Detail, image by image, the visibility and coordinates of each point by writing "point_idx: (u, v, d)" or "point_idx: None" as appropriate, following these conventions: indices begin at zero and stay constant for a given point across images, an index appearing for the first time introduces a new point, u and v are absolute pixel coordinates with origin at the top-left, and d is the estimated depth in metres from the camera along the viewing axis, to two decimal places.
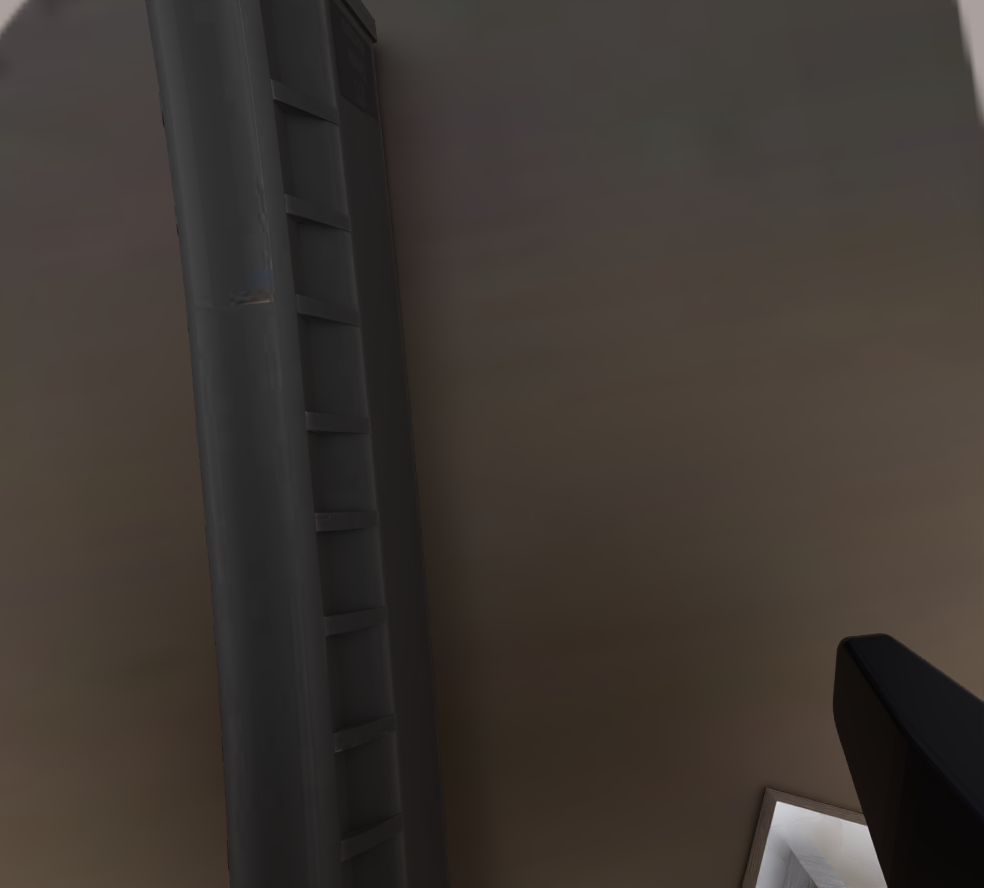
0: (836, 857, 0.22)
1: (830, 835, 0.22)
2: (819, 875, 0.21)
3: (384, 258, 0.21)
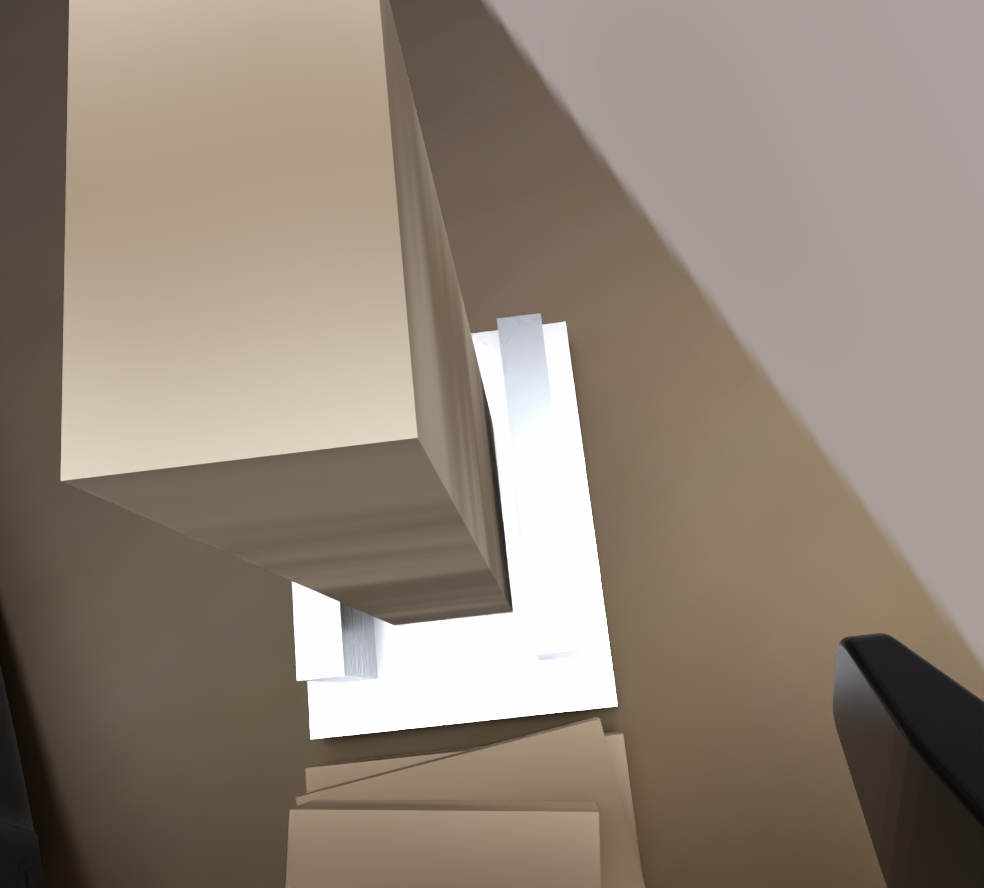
0: None
1: None
2: None
3: None
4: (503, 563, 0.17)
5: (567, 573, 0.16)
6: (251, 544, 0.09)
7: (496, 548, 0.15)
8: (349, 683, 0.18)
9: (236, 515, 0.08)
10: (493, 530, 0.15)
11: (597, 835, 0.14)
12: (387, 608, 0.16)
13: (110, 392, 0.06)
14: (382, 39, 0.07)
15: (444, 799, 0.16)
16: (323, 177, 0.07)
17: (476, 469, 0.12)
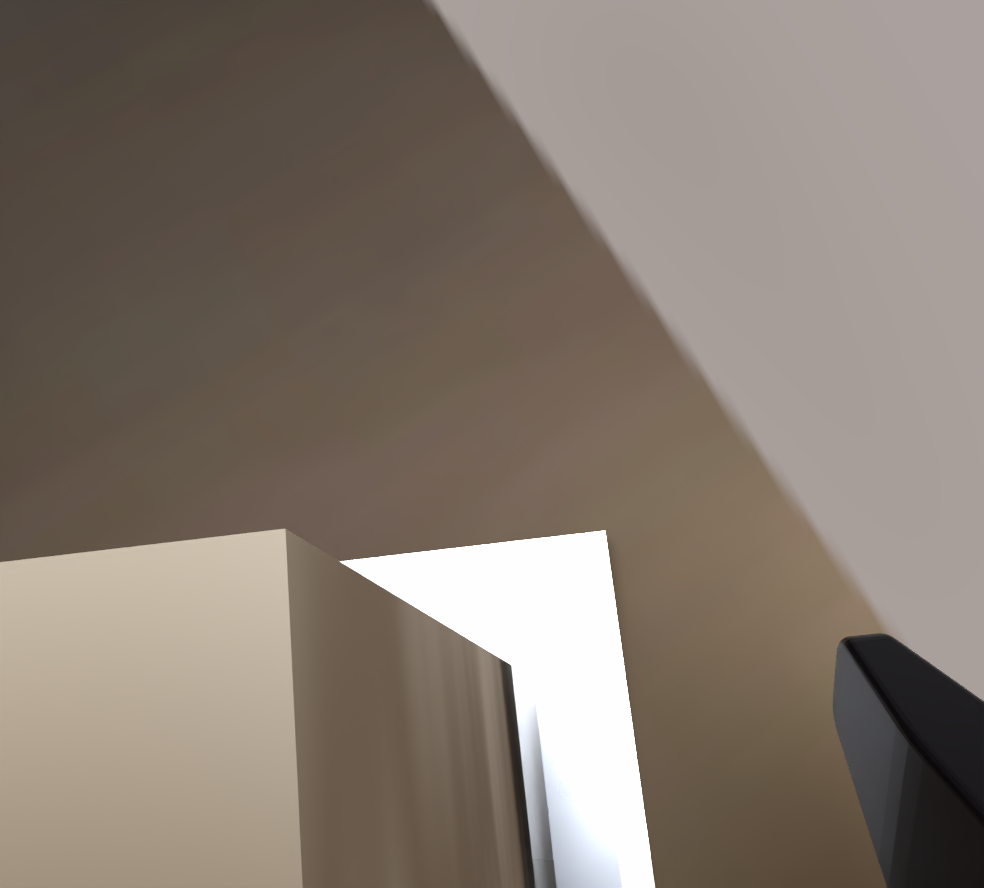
0: None
1: None
2: None
3: None
4: None
5: None
6: None
7: None
8: None
9: None
10: None
11: None
12: None
13: None
14: (302, 862, 0.02)
15: None
16: None
17: None
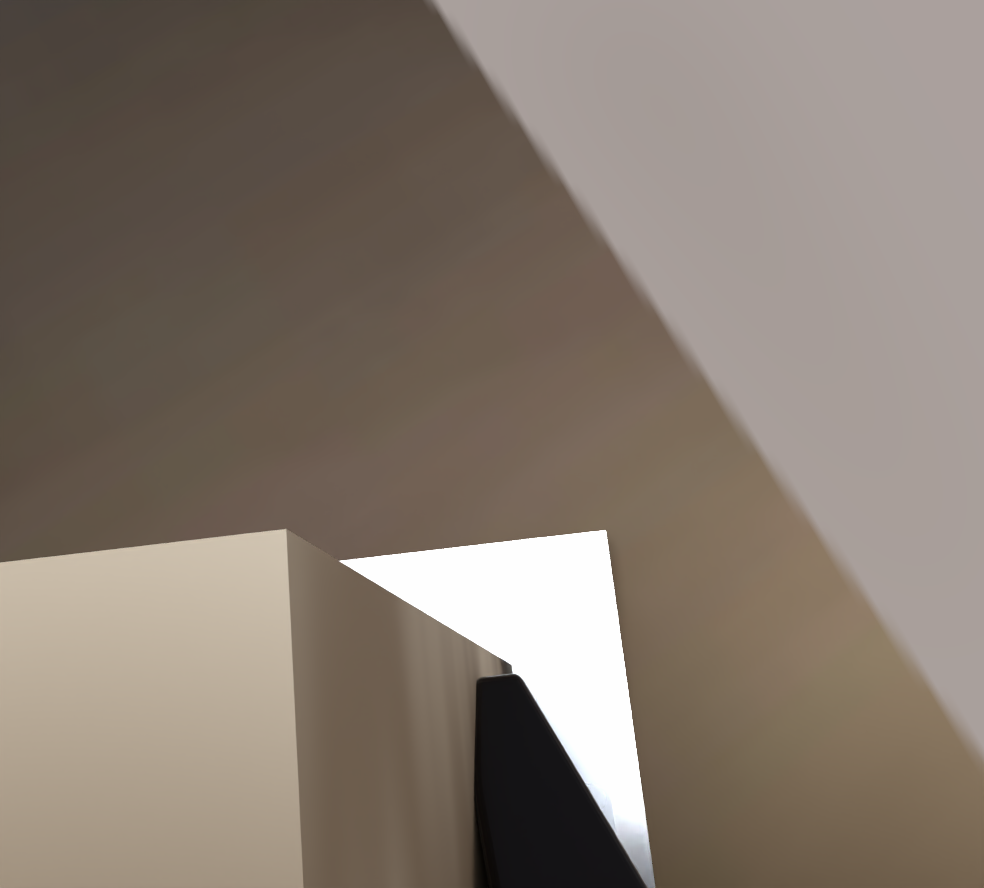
0: None
1: None
2: None
3: None
4: None
5: None
6: None
7: None
8: None
9: None
10: None
11: None
12: None
13: None
14: (302, 865, 0.02)
15: None
16: None
17: None
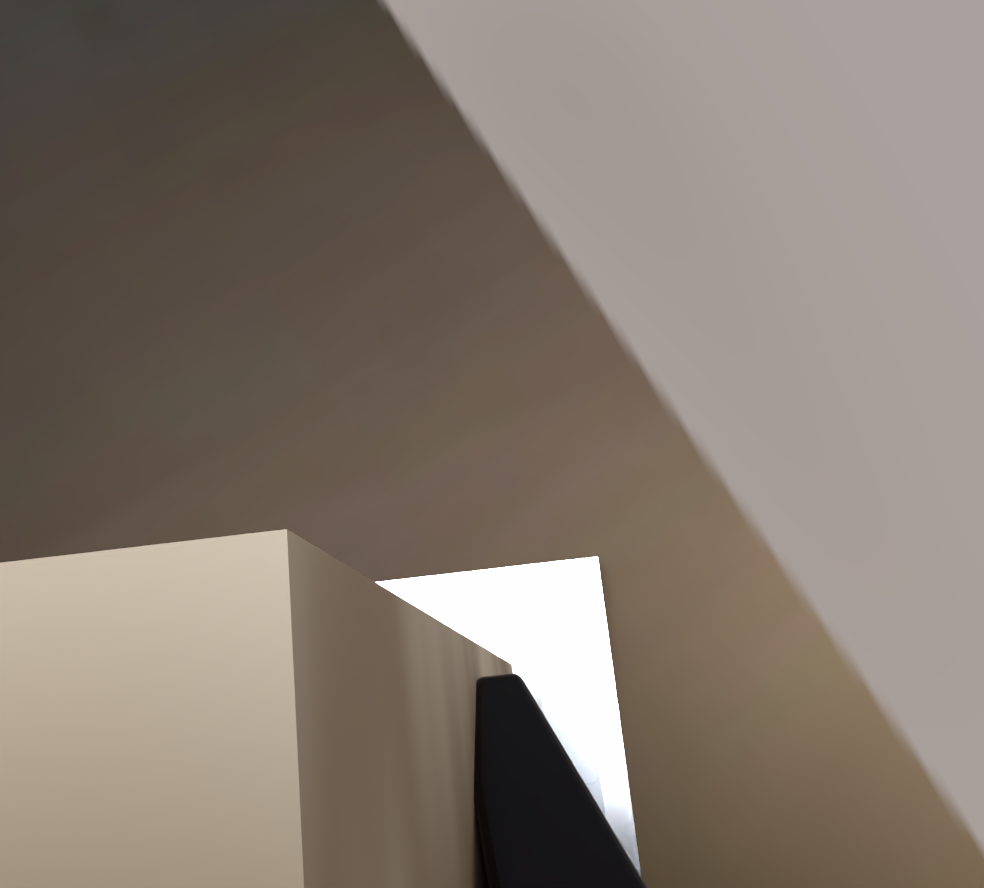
0: None
1: None
2: None
3: None
4: None
5: None
6: None
7: None
8: None
9: None
10: None
11: None
12: None
13: None
14: (303, 863, 0.02)
15: None
16: None
17: None
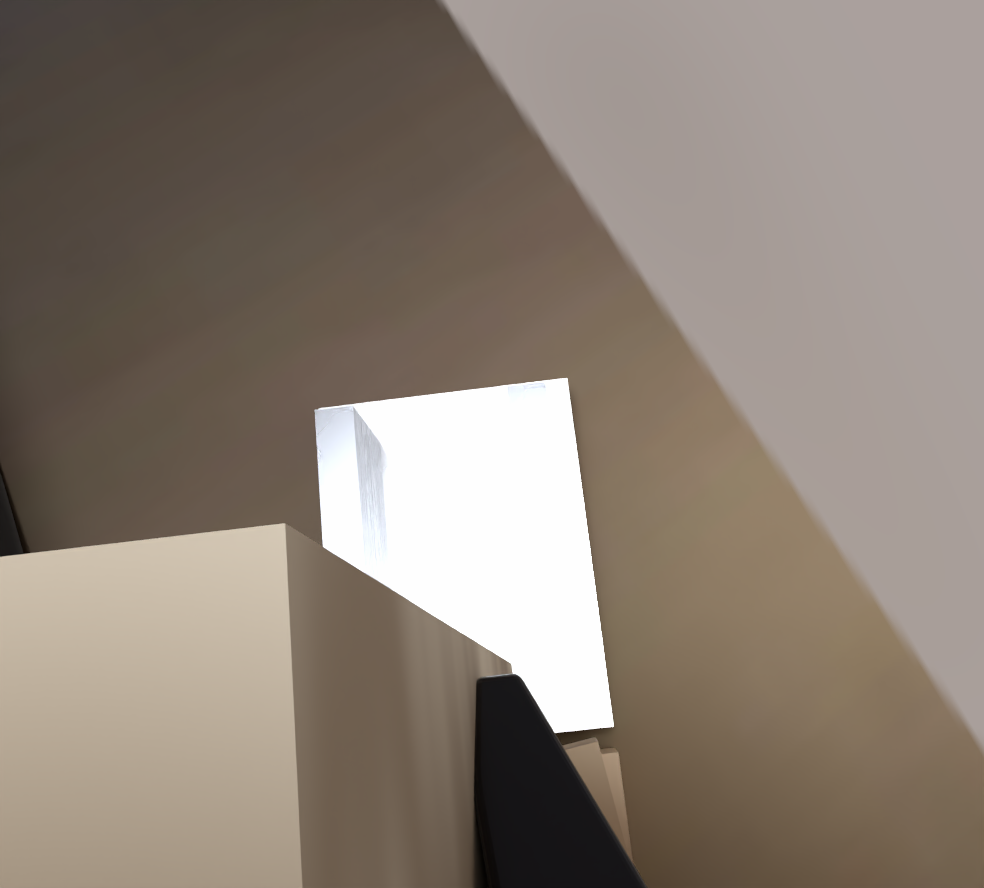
0: (388, 435, 0.22)
1: (377, 419, 0.22)
2: None
3: None
4: None
5: (569, 615, 0.18)
6: None
7: None
8: None
9: None
10: None
11: None
12: None
13: None
14: (301, 859, 0.02)
15: None
16: None
17: None
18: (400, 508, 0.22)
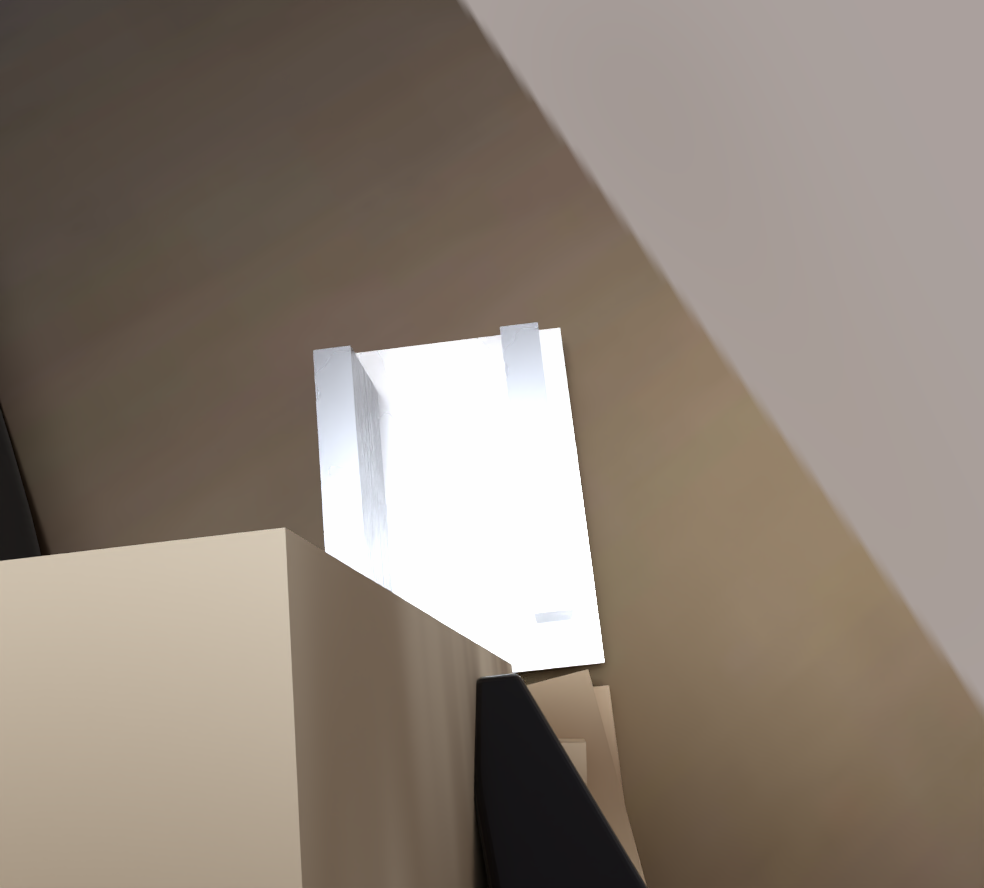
0: (385, 383, 0.23)
1: (375, 368, 0.23)
2: None
3: None
4: None
5: (560, 544, 0.19)
6: None
7: None
8: None
9: None
10: None
11: (584, 761, 0.17)
12: None
13: None
14: (301, 865, 0.02)
15: None
16: None
17: None
18: (397, 453, 0.22)
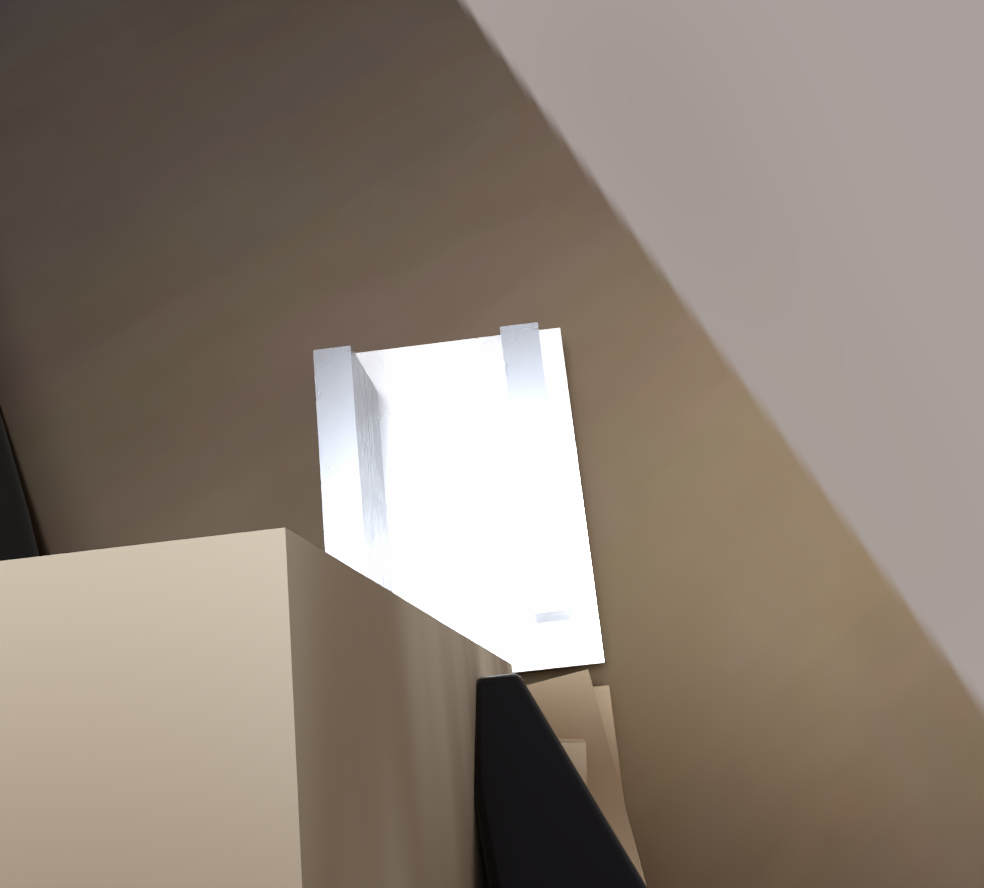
0: (385, 383, 0.23)
1: (375, 368, 0.23)
2: None
3: None
4: None
5: (560, 544, 0.19)
6: None
7: None
8: None
9: None
10: None
11: (584, 761, 0.17)
12: None
13: None
14: (301, 864, 0.02)
15: None
16: None
17: None
18: (397, 453, 0.22)
